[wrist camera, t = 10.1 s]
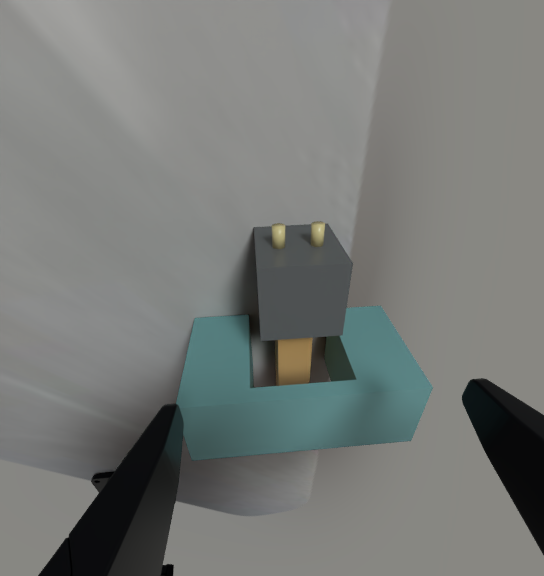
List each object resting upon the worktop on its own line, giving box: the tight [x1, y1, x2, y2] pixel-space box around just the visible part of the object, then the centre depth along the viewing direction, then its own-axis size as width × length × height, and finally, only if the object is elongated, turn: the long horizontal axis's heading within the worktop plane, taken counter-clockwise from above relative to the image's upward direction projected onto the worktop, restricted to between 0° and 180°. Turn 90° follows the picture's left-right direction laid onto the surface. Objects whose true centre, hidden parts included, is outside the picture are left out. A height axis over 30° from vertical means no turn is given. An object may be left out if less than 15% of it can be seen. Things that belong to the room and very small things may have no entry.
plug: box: [254, 222, 353, 386], centre depth 18 cm, size 14×4×4 cm, turn 1°
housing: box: [176, 306, 433, 461], centre depth 18 cm, size 4×12×6 cm, turn 92°
